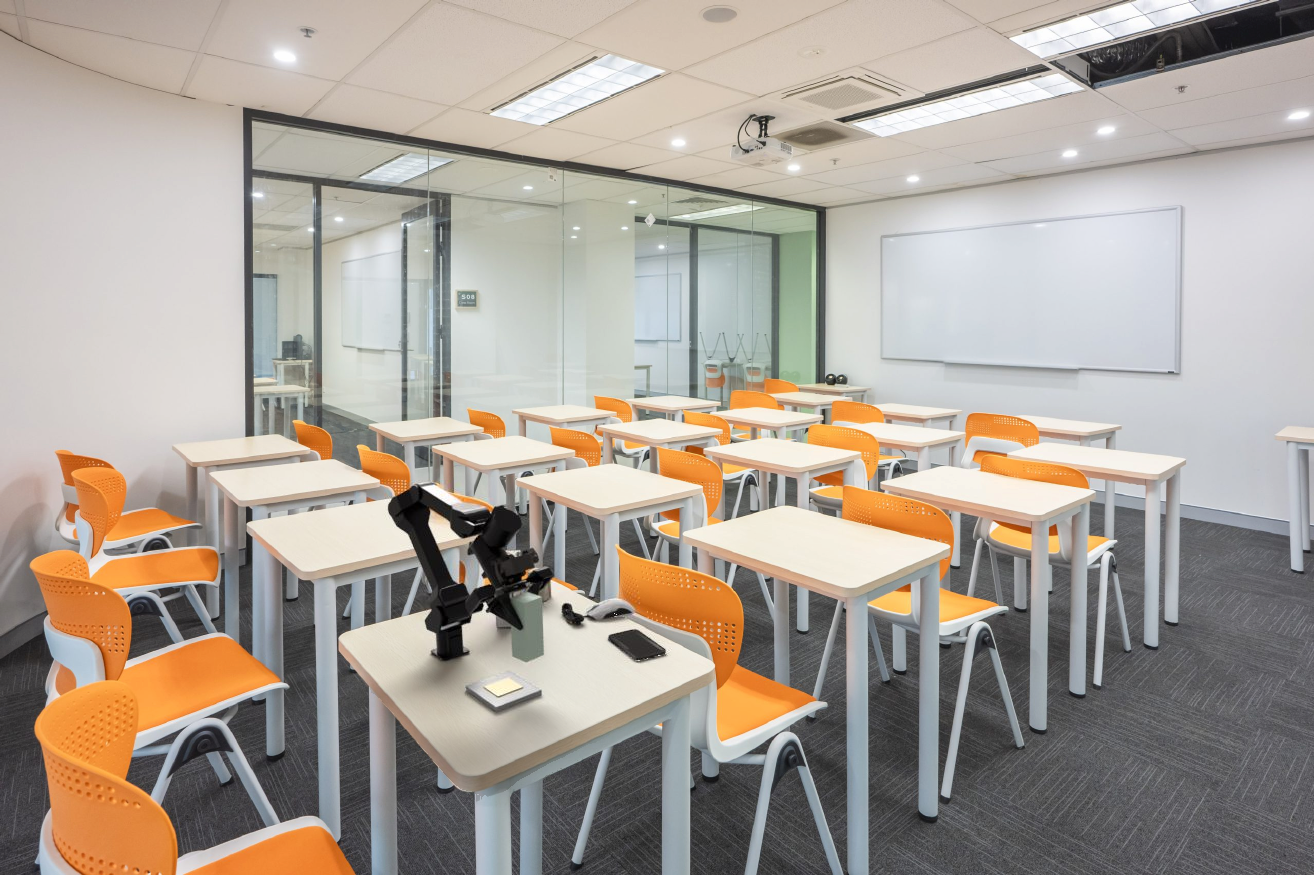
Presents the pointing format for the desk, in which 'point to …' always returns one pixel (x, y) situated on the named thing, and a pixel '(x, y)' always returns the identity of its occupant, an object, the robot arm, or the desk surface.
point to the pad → (503, 690)
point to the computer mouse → (599, 610)
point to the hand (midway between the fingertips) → (531, 625)
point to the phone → (636, 644)
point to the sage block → (528, 627)
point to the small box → (544, 592)
